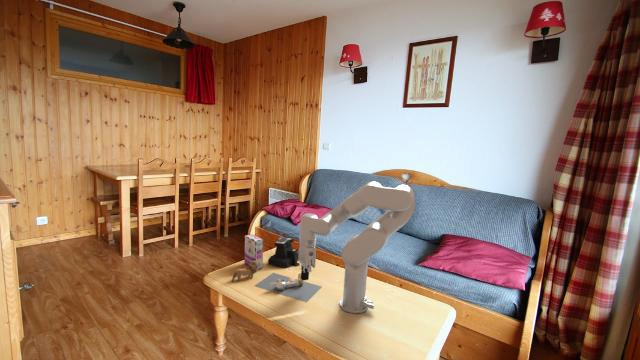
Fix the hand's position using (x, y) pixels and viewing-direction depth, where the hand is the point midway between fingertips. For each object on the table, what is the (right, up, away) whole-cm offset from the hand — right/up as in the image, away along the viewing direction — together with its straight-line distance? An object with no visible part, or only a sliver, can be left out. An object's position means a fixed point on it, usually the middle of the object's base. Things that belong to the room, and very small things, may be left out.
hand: (304, 279), depth 144 cm
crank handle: (-9, -5, +4) cm, 11 cm away
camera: (-12, -2, +35) cm, 37 cm away
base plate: (-8, -6, +6) cm, 12 cm away
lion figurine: (-30, -4, +12) cm, 32 cm away
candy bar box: (-29, -2, +28) cm, 40 cm away
